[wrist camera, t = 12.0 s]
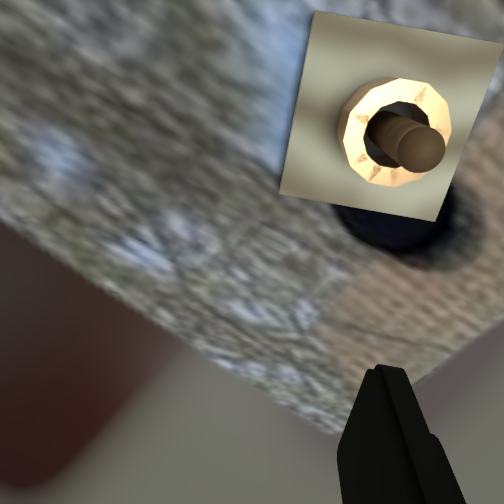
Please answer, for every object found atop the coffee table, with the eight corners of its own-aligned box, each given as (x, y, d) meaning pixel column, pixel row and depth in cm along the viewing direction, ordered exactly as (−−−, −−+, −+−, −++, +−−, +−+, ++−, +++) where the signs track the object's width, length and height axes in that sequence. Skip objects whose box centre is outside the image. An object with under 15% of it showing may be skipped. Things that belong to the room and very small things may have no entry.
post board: (313, 13, 30) (332, -23, 18) (491, 45, 30) (629, 30, 18) (279, 187, 36) (276, 247, 24) (427, 213, 36) (498, 286, 24)
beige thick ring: (351, 71, 29) (360, 71, 25) (444, 87, 29) (466, 90, 25) (328, 164, 32) (333, 176, 28) (412, 179, 32) (428, 193, 28)
